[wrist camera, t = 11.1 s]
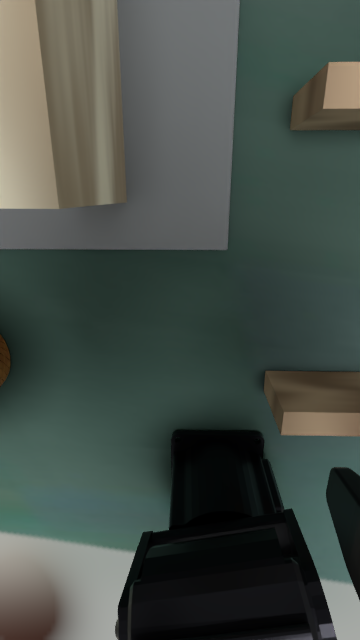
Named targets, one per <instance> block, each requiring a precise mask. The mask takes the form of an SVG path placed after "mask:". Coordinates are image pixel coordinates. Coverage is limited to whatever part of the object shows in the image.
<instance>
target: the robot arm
mask: <svg viewBox="0 0 360 640" xmlns="http://www.w3.org/2000/svg"><path fill="white" fill-rule="evenodd" d="M177 437H179V438H181V439H176V438H177ZM255 439H259V440H257V441H255ZM263 449H264V438H263V435H262V434H261V433H259V432H232V431H175V432H173V434H172V437H171V465H172V485H171V502H170V519H169V530H166V531H160V532H153V531H148V532H143V534H142V537H141V539H140V542H139V545H138V547H137V550H136V553H135V556H134V559H133V562H132V565H131V568H130V572H129V574H128V577H127V581H126V583H125V587H124V590H123V593H122V596H121V599H120V602H119V605H118V620H117V622H116V626H115V634H116V637H117V639H118V640H337V638H336V634H335V630H334V626H333V623H332V619H331V615H330V612H329V608H328V605H327V602H326V599H325V595H324V592H323V589H322V586H321V582H320V579H319V576H318V573H317V570H316V568H315V565H314V562H313V560H312V557H311V555H310V552H309V550H308V547H307V545H306V542H305V540H304V537H303V535H302V532H301V530H300V527H299V525H298V522H297V520H296V517H295V515H294V512H293V510H292V509H286V510H284V506H283V503H282V500H281V497H280V493H279V490H278V487H277V484H276V480H275V477H274V474H273V471H272V467H271V464H270V462H269V461H268V460H267V459H262V458H263ZM326 499H327V503H328V506H329V510H330V513H331V517H332V520H333V523H334V527H335V530H336V533H337V537H338V540H339V544H340V547H341V550H342V554H343V557H344V560H345V563H346V566H347V569H348V572H349V575H350V577H351V580H352V582H353V585H354V587H355V590H356V592H357V594H358V597H359V600H360V476H359V475H358V474H356V473H355V472H354V471H353V470H351V469H349V468H345V467H334V468H332V469H331V471H330V475H329V480H328V485H327V490H326Z"/></svg>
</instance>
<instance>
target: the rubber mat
mask: <svg viewBox="0 0 360 640" xmlns="http://www.w3.org/2000/svg"><path fill="white" fill-rule="evenodd" d="M239 5H240V0H117V10H118V31H119V52H120V72H121V93H122V113H123V134H124V155H125V175H126V196H127V202H126V203H115V204H105V205H95V206H84V207H74V208H63V209H0V249H107V250H227V248H228V228H229V208H230V188H231V167H232V147H233V127H234V107H235V86H236V66H237V46H238V26H239Z"/></svg>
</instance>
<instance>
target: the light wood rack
mask: <svg viewBox="0 0 360 640" xmlns="http://www.w3.org/2000/svg"><path fill="white" fill-rule="evenodd" d="M290 130H360V62H329V63H328V64H327V65H325V66H324V67H323V68H322V69H321V70H320V71H319V72H318V73H317V74H316V75H315V76H314V77H313V78H312V79H311V80H310V81H309V82H308V83H307V84H306V85H305V86H303V87H302V88H301V89H300V90H299V91H298V92H297V93H296V94H295V95H294V96H293V105H292V115H291V124H290ZM264 393H265V395H266V398H267V400H268V403H269V406H270V408H271V411H272V413H273V416H274V418H275V421H276V424H277V426H278V429H279V431H280V434H281V435H311V436H360V372H323V371H266V372H265V382H264Z"/></svg>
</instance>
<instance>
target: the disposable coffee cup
mask: <svg viewBox="0 0 360 640" xmlns="http://www.w3.org/2000/svg"><path fill="white" fill-rule="evenodd" d="M9 370H10V354H9V349H8V347H7V345H6V343H5V341H4V339H3V338H2V336H1V335H0V387H1V385H2V384H3V382H4V381H5V380H6V378H7V376H8V374H9Z"/></svg>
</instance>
